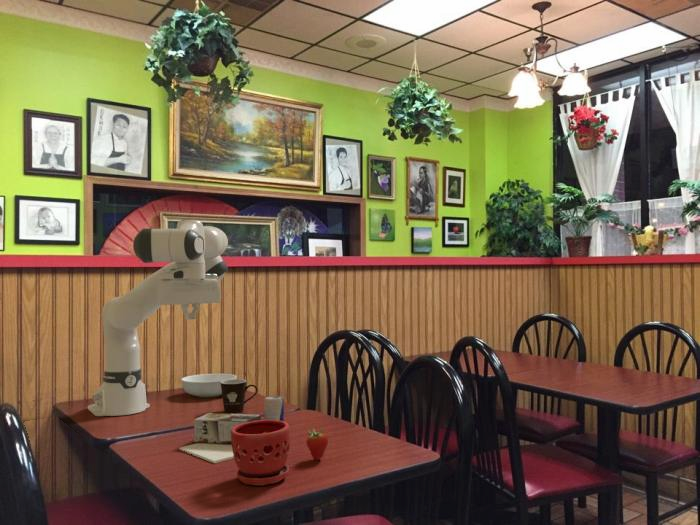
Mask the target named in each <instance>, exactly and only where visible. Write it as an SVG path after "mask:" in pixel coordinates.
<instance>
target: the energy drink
mask: <svg viewBox="0 0 700 525" xmlns="http://www.w3.org/2000/svg"><path fill="white" fill-rule="evenodd" d="M263 402H264V406H263V407H264V408H263V409H264V410H263V411H264V420H279V421H284V422H285V400H284V397H283V396H282V395H281V396H280V395H270V396H266V397H264V401H263ZM264 433H267V432H264Z"/></svg>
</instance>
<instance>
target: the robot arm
mask: <svg viewBox="0 0 700 525" xmlns="http://www.w3.org/2000/svg"><path fill="white" fill-rule="evenodd" d="M132 246H133V247H132V248H133V252H134V255H135V256H136V257H137V258H138V260H140V261H141V262H142V263H144V264H150V263H168V262H169V263H168V264H166V265H164V266H163V267H161V268H160V269H158V270H156V271H155V272H154V273H152V274H150V275H149V276H147V277H146V278H145V279H143V280H141V281H140V282H139V283H138V284H137V285H136V286H134V287H133V288H132V289H131V290H129V291H128V292H127V293H125V294H123V296H115V297H113V298H110V299H109V300H107V302H105V304H104V305H103V308H102V312H101V314H102V327H103V337H104V346H105V350H104V351H105V370H104V371H103V376H102V377H103V379H102V381H103V382H102V383H101V384H100V386H99V388H98V389H97V390H96V391H95V392H94V394H92V401H93V402H94V404H89V405H87V410H88V411H89V412H91V414H92V415H94V416H95V417H104V416H105V417H107V416H110V417H113V416H114V417H115V416H116V417H117V416H127V415H133V414H137V413H142V412H144V411H146V409H148V408H150V406H151V403H148V402H147V394H146V384H145V383H144V382H143V381H142V378H143V376H142V375H143V374H142V368H141V352H140V351H141V345H140V342H139V336H138V328H137V327H138V326H140V325H141V324H142V323H144V322H146V320H147V319H149V317H150V316H152V315H153V314H154V313H156V312H157V311H158V310H159V309H160V308H162V307H163V306H173V305H175V306H176V305H180V308H181V310H182V312H183V313H184V319H185V320H196V319H197V313H198V311H199V309H200V308H201V307H200V304H220V302H221V301H222V290H221V285H220V284H221V281H222V279H224V277H225V276H226V275H227V273H228V270H229V268H228V265H227V263H226V261H225V260H223V258H222V256H221V255H222V254H223V253H225V251H226V250H227V248H228V246H229V240H228V236H227V235H226V233H225V232H224V231H223V230H222V229H220V228H218V227H215V226H210V225H204V224H203V223H202V222H201V221H199V220H197V219H191V218H184V219H180V220H178V221H177V224H176V228H145V227H144V228H142V229H141V230H140V231H139V232H138V233H137V234H136V235H135V237H134V239H133V244H132ZM190 305H191V308H192V311H191V312H190V311H189V308H190Z"/></svg>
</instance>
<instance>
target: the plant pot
mask: <svg viewBox="0 0 700 525" xmlns="http://www.w3.org/2000/svg"><path fill="white" fill-rule="evenodd" d="M265 432H267V433H265ZM290 438H291V433H290V425H289V423H288V422H286V421H285V420H284V421H279V420H265V419H261V420H259V421H252V422H247V423H243V424H240V425H237V426H235V427H234V428H232V430H231V443H232V450H233V455H234V458H233V459H234V461H235V464H236V467H237V468H238V470H237V472H236V477H237V478H238V480H239V481H241V482H242V483H244V484H246V485H250V486H251V485H252V486H258V487H261V486H266V485H272V484H275V483H278V482H280V481H283V479H285V478H286V477H287V476H288V474H289V471H290V467H289V466H288V465H287V464H286V463H287V461H288V457H289V453H290V444H291V442H290V441H291V439H290ZM238 445H239V447H238Z"/></svg>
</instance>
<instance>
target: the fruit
mask: <svg viewBox="0 0 700 525" xmlns="http://www.w3.org/2000/svg"><path fill="white" fill-rule="evenodd" d="M323 432H324V430H323V429H322V428H319V431H316V429H315V428H314V427H312V431H311V430H310V429H308V432H307V435H309V436H308V437H307V439H306V441H305V443H306V445H307V448H308V449H309V451H310V454H311V457H312V458H313V460H314V461H320V460H321V459H322V458H323V456H324V454H325V452H326V449H327V446H328V443H329V438H328V436H327V435H326V434H324V433H323Z"/></svg>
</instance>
